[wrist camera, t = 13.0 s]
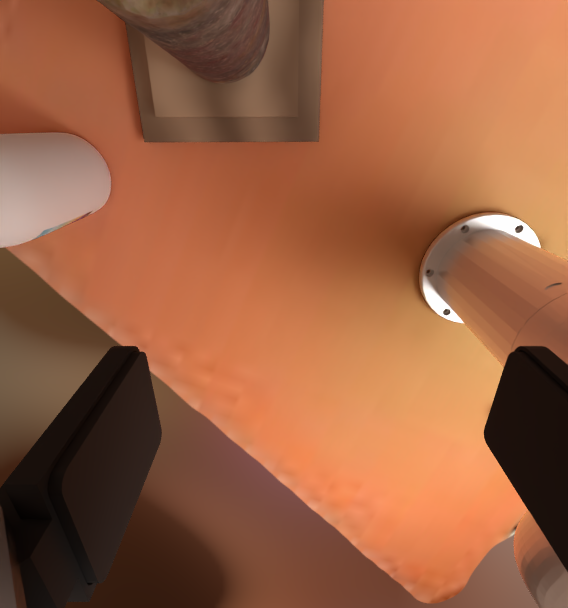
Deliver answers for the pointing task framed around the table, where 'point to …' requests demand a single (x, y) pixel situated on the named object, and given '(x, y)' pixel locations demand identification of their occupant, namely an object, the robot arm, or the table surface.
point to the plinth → (240, 126)
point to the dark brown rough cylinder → (203, 32)
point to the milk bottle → (48, 184)
